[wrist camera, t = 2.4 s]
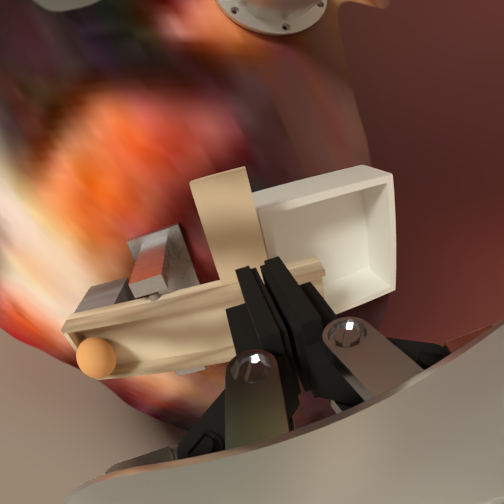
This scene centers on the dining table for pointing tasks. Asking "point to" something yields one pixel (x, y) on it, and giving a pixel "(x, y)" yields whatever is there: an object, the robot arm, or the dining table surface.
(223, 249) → the lever
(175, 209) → the dining table surface
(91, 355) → the ball
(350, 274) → the bin
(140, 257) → the lever stand
